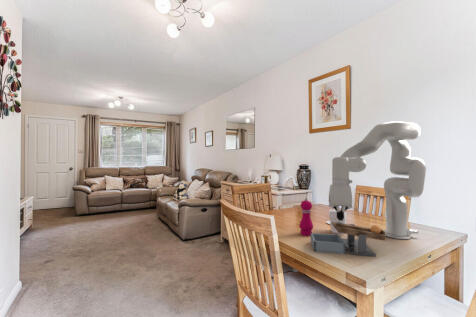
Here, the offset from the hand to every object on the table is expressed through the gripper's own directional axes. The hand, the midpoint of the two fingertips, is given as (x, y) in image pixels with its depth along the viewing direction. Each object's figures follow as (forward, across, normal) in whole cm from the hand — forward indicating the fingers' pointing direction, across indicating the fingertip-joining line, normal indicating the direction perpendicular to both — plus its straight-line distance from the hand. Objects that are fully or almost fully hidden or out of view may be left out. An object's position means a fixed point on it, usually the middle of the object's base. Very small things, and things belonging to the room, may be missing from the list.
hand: (340, 219), depth 111 cm
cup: (+12, -3, -19) cm, 23 cm away
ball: (+2, -13, +8) cm, 15 cm away
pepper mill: (+12, +15, -11) cm, 22 cm away
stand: (+12, -6, +4) cm, 14 cm away
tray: (+4, -6, +4) cm, 8 cm away
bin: (+12, +7, +7) cm, 15 cm away
